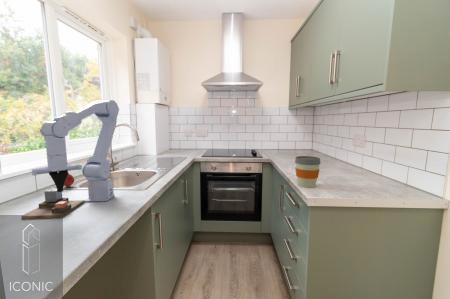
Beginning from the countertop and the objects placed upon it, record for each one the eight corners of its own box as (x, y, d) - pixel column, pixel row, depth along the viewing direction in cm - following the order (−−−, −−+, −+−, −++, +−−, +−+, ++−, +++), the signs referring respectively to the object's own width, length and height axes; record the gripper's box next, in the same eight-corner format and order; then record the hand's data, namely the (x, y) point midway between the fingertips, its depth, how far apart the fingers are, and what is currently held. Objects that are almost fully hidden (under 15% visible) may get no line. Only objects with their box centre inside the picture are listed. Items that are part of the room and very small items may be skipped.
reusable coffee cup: (289, 183, 124) (290, 156, 122) (306, 181, 129) (307, 155, 128) (306, 190, 113) (307, 160, 111) (324, 187, 118) (326, 158, 116)
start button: (67, 205, 85) (67, 201, 85) (63, 208, 83) (62, 203, 82) (60, 206, 85) (59, 201, 85) (55, 208, 82) (55, 203, 82)
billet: (62, 202, 93) (61, 188, 92) (57, 205, 89) (55, 191, 88) (52, 202, 92) (50, 188, 91) (45, 206, 88) (44, 191, 87)
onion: (59, 189, 114) (57, 173, 113) (64, 186, 120) (62, 171, 119) (72, 188, 116) (71, 172, 115) (76, 185, 121) (75, 170, 120)
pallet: (84, 202, 95) (84, 196, 95) (62, 217, 80) (61, 210, 80) (50, 203, 94) (50, 197, 94) (21, 218, 79) (20, 211, 79)
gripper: (77, 151, 89) (80, 185, 91) (29, 155, 79) (33, 193, 81) (82, 153, 84) (84, 189, 86) (31, 157, 74) (35, 197, 76)
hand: (60, 191), depth 83 cm, fingers closed
